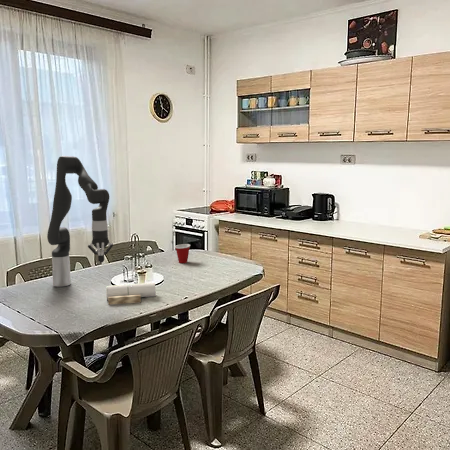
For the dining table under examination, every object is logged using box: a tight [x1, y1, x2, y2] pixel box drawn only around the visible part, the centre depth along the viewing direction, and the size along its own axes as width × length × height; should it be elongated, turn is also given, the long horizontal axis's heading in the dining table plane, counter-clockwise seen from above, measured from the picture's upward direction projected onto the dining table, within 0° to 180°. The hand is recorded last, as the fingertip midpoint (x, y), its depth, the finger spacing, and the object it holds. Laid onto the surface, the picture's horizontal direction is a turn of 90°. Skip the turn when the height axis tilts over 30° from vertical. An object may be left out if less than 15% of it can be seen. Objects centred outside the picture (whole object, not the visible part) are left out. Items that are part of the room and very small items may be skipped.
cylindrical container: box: [105, 282, 157, 300], centre depth 233 cm, size 7×7×25 cm
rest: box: [108, 295, 142, 305], centre depth 232 cm, size 16×14×4 cm
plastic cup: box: [174, 243, 191, 264], centre depth 303 cm, size 11×11×12 cm
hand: (101, 262), depth 226 cm, fingers closed
